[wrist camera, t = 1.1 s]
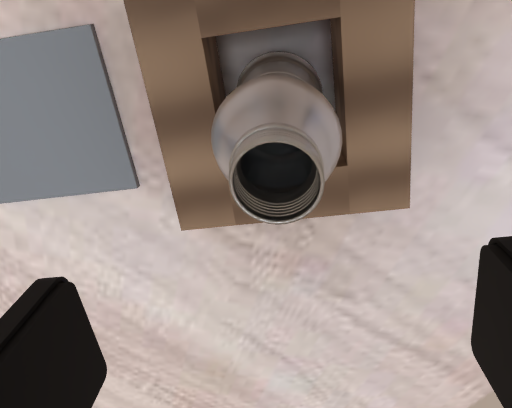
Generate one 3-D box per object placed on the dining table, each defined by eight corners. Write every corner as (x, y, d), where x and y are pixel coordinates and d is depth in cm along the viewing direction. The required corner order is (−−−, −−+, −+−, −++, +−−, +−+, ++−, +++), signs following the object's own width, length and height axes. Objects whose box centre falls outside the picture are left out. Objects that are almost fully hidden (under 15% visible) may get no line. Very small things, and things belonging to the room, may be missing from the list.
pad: (-66, 49, 33) (-72, 50, 33) (93, 24, 32) (90, 24, 31) (2, 201, 39) (-2, 203, 39) (139, 185, 38) (137, 188, 37)
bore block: (147, -15, 30) (118, -20, 25) (390, -56, 28) (416, -71, 23) (195, 199, 38) (181, 230, 33) (390, 178, 36) (409, 208, 31)
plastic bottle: (300, 140, 35) (322, 277, 17) (227, 111, 34) (169, 222, 16) (333, 67, 32) (399, 140, 14) (254, 34, 32) (220, 66, 14)
